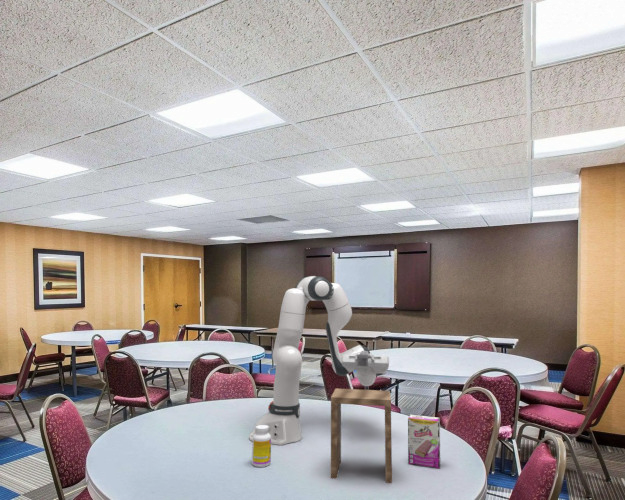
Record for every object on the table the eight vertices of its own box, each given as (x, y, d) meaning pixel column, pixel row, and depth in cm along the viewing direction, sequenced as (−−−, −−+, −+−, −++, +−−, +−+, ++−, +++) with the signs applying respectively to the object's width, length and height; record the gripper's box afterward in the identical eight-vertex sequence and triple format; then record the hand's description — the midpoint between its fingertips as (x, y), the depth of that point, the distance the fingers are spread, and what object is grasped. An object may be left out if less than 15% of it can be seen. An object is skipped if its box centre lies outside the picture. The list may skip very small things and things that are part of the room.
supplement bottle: (272, 466, 144) (272, 428, 146) (253, 468, 143) (254, 430, 144) (268, 459, 151) (269, 423, 152) (250, 461, 149) (251, 424, 150)
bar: (357, 365, 153) (357, 354, 153) (360, 358, 172) (359, 348, 173) (367, 366, 152) (367, 355, 153) (369, 358, 172) (369, 348, 172)
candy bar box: (408, 464, 147) (407, 417, 149) (409, 459, 152) (408, 413, 154) (440, 469, 144) (439, 420, 145) (441, 464, 148) (439, 417, 150)
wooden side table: (330, 478, 135) (331, 397, 139) (335, 461, 149) (335, 388, 152) (392, 483, 132) (390, 400, 135) (391, 466, 146) (390, 390, 149)
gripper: (342, 359, 184) (339, 346, 173) (388, 360, 180) (388, 348, 169) (341, 373, 180) (339, 361, 169) (389, 374, 177) (389, 362, 166)
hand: (364, 354), depth 169 cm, fingers closed on bar, 3 cm apart
